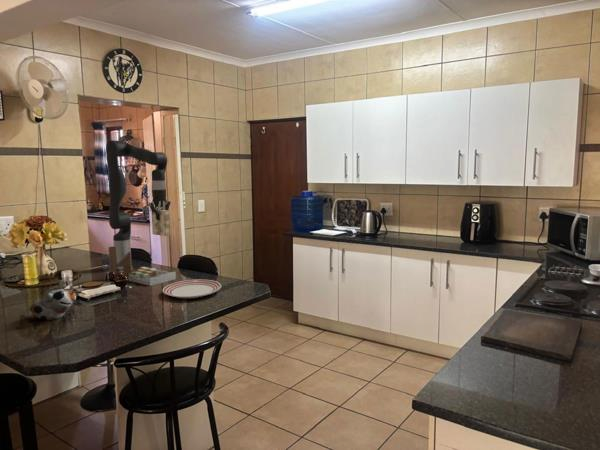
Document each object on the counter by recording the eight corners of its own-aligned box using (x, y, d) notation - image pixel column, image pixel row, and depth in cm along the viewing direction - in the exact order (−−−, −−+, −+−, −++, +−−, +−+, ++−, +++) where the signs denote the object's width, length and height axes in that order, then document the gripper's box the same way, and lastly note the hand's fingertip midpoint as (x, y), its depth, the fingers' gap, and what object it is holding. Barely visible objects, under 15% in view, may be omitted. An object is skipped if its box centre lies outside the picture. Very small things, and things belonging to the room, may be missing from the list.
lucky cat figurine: (57, 308, 190) (71, 280, 190) (71, 324, 185) (86, 295, 184) (22, 308, 177) (37, 278, 176) (37, 325, 172) (53, 294, 171)
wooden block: (131, 278, 242) (130, 245, 239) (110, 281, 236) (108, 247, 234) (130, 276, 245) (128, 244, 242) (109, 279, 239) (107, 246, 237)
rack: (128, 280, 237) (128, 273, 236) (154, 274, 250) (154, 267, 250) (150, 285, 226) (149, 278, 226) (175, 279, 240) (175, 271, 239)
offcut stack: (132, 280, 236) (132, 269, 235) (143, 278, 242) (143, 266, 241) (149, 284, 228) (148, 272, 227) (160, 281, 234) (159, 270, 233)
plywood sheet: (152, 234, 250) (151, 209, 248) (156, 233, 252) (155, 209, 251) (166, 236, 244) (165, 210, 242) (169, 235, 246) (168, 210, 244)
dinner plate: (207, 303, 197) (207, 296, 197) (151, 300, 203) (151, 293, 202) (229, 287, 224) (229, 280, 224) (179, 284, 229) (179, 278, 229)
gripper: (165, 188, 252) (166, 218, 255) (143, 189, 241) (145, 220, 243) (173, 188, 248) (174, 219, 250) (152, 189, 237) (154, 221, 239)
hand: (160, 219), depth 247 cm, fingers closed on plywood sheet, 2 cm apart
